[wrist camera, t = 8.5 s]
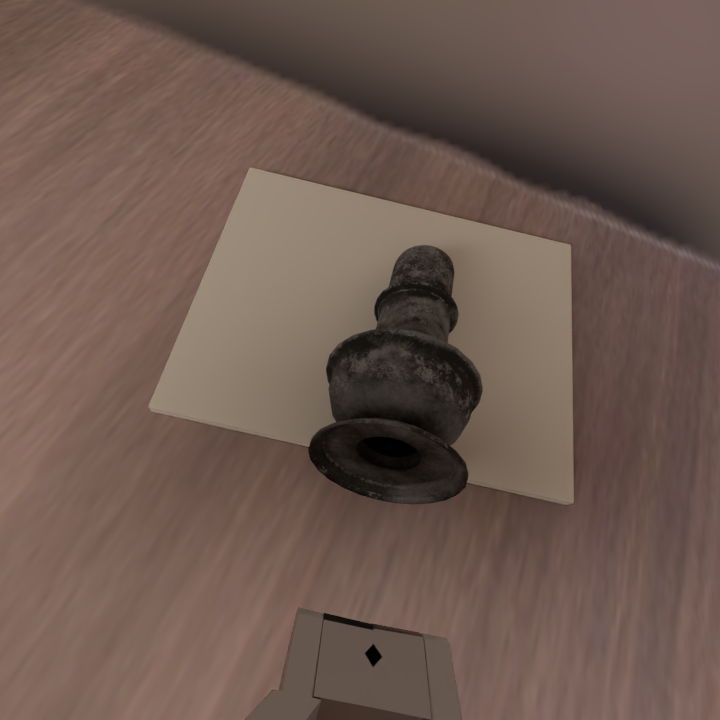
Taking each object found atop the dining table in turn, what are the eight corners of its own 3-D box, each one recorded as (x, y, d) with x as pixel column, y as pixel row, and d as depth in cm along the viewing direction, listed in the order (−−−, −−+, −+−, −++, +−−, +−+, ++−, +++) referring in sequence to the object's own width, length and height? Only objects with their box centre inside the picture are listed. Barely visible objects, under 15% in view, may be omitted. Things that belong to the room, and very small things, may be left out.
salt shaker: (372, 514, 18) (413, 308, 26) (511, 497, 15) (512, 265, 23) (264, 439, 16) (345, 232, 23) (406, 397, 12) (447, 168, 20)
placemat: (152, 411, 19) (148, 406, 19) (250, 175, 26) (249, 167, 25) (566, 505, 20) (573, 503, 19) (565, 251, 26) (570, 245, 26)
